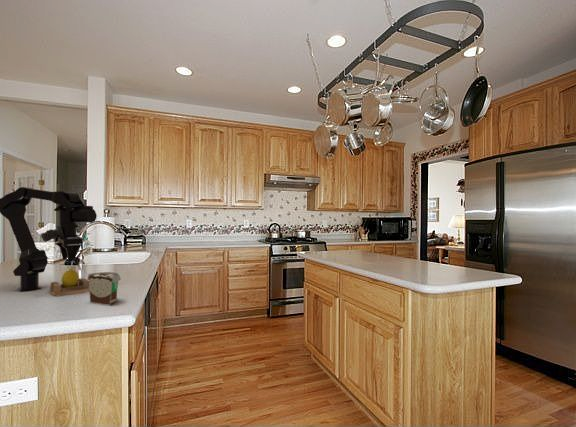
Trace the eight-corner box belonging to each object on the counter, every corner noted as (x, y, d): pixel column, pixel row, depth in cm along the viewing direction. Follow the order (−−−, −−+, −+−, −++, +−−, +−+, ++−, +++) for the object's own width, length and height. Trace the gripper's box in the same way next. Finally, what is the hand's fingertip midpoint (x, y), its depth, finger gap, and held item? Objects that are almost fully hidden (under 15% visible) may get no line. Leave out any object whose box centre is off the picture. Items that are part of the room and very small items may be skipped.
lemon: (69, 291, 116) (70, 270, 116) (57, 290, 117) (58, 269, 117) (81, 288, 122) (82, 268, 122) (70, 286, 123) (71, 267, 123)
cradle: (49, 292, 118) (49, 282, 118) (83, 287, 127) (83, 277, 127) (54, 296, 112) (54, 286, 112) (90, 291, 121) (90, 281, 121)
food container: (128, 301, 108) (128, 273, 108) (113, 305, 102) (113, 276, 102) (102, 297, 112) (103, 270, 112) (87, 302, 106) (87, 273, 106)
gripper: (38, 222, 122) (37, 260, 122) (47, 223, 109) (47, 265, 109) (71, 221, 130) (70, 257, 130) (83, 222, 118) (82, 262, 118)
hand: (67, 260), depth 122 cm, fingers open, 9 cm apart
